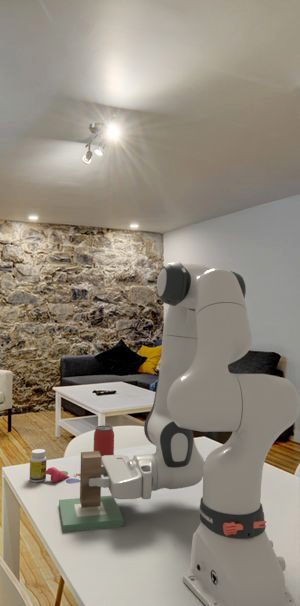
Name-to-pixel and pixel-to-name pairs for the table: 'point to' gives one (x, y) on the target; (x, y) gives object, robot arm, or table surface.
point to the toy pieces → (60, 476)
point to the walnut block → (89, 468)
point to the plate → (89, 514)
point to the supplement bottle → (38, 465)
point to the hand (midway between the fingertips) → (87, 477)
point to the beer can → (104, 440)
